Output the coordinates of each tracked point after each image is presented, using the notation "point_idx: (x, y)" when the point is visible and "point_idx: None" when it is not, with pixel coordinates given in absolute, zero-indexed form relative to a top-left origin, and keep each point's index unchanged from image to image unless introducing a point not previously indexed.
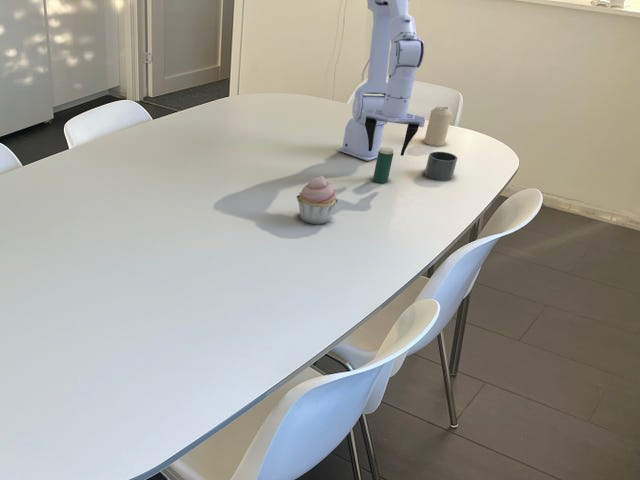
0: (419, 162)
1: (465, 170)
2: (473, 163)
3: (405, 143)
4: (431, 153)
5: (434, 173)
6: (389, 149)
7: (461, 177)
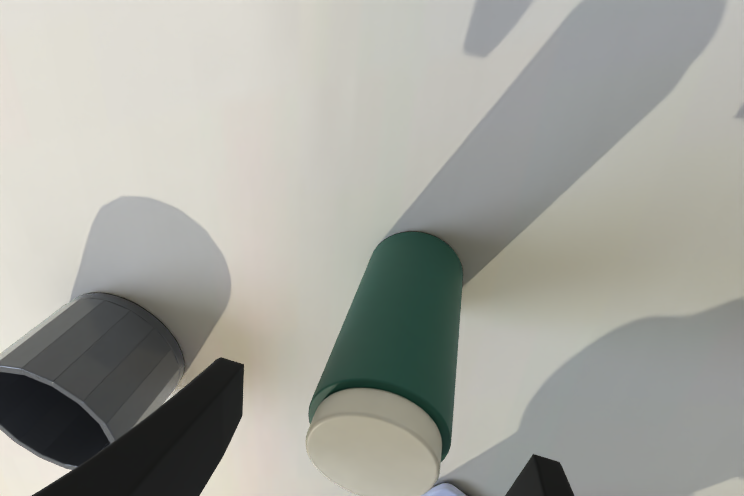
0: None
1: None
2: None
3: (127, 467)
4: None
5: (116, 323)
6: (342, 452)
7: None
